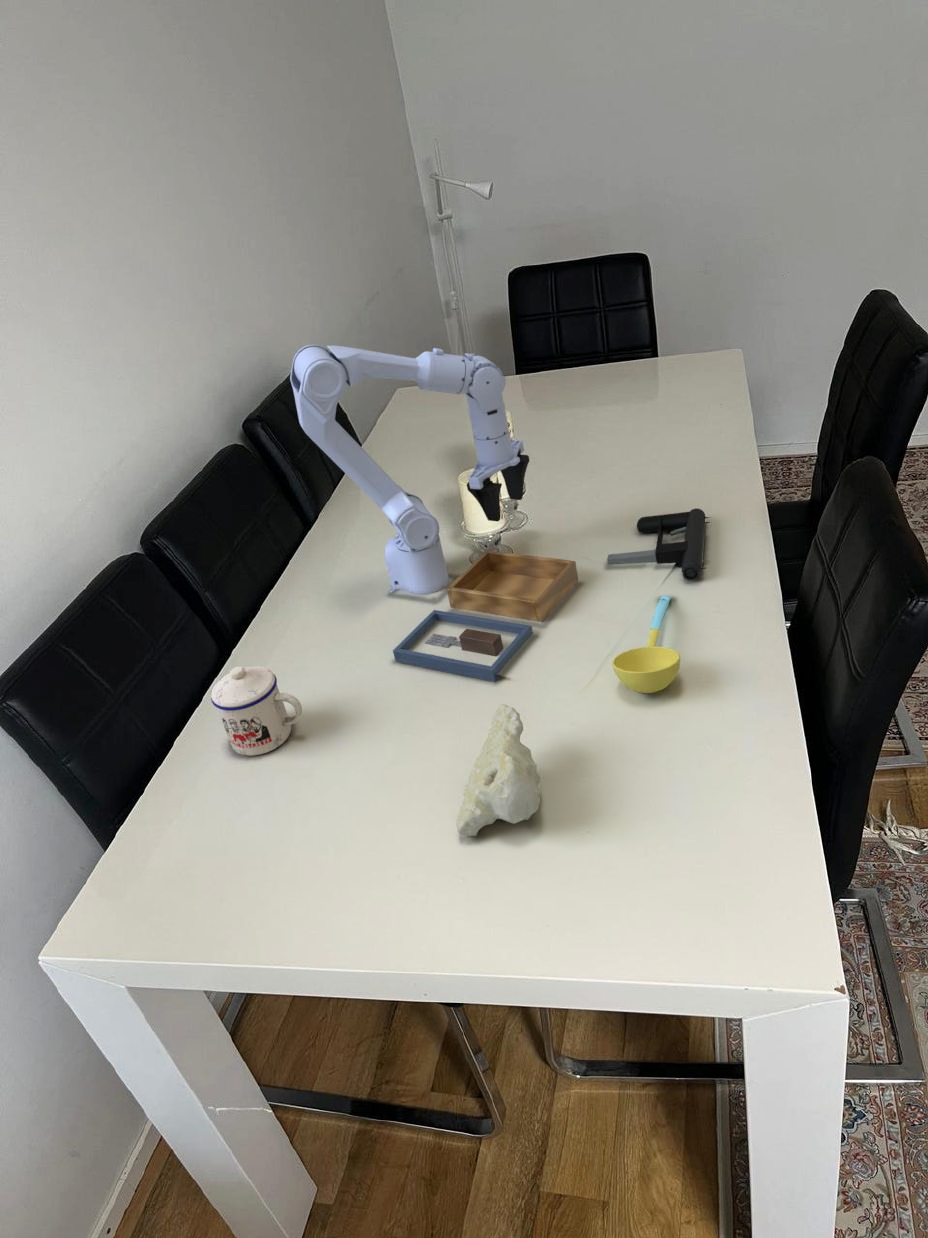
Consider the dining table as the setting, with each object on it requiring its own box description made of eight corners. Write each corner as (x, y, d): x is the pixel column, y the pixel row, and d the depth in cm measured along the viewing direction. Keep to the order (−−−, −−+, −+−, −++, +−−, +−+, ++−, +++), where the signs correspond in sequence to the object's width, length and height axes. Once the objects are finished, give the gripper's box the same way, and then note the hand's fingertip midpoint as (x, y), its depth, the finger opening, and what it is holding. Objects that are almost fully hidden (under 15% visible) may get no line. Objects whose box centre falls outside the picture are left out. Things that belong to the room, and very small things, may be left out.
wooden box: (451, 611, 157) (446, 589, 154) (490, 572, 165) (486, 550, 163) (542, 626, 148) (538, 602, 146) (579, 584, 156) (575, 560, 154)
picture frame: (395, 661, 147) (392, 650, 146) (436, 620, 155) (433, 609, 154) (495, 682, 138) (492, 670, 137) (533, 637, 146) (531, 625, 145)
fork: (504, 648, 144) (501, 633, 142) (495, 657, 142) (492, 643, 141) (433, 635, 150) (430, 621, 149) (425, 644, 149) (421, 630, 147)
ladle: (610, 705, 127) (605, 664, 126) (641, 631, 151) (637, 595, 149) (679, 704, 124) (674, 662, 122) (699, 628, 148) (696, 592, 146)
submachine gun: (601, 574, 153) (707, 563, 148) (615, 514, 169) (711, 503, 164) (605, 592, 155) (709, 582, 149) (619, 531, 171) (713, 521, 165)
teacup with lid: (220, 758, 135) (192, 691, 129) (246, 716, 143) (220, 651, 137) (299, 758, 132) (274, 689, 126) (321, 715, 139) (299, 648, 133)
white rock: (517, 875, 110) (588, 761, 109) (464, 848, 107) (535, 731, 107) (483, 824, 124) (545, 723, 124) (435, 799, 122) (498, 696, 122)
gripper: (489, 453, 149) (504, 532, 156) (534, 415, 158) (546, 491, 165) (451, 450, 152) (467, 528, 159) (497, 414, 162) (510, 488, 169)
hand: (505, 509), depth 163 cm, fingers open, 7 cm apart
